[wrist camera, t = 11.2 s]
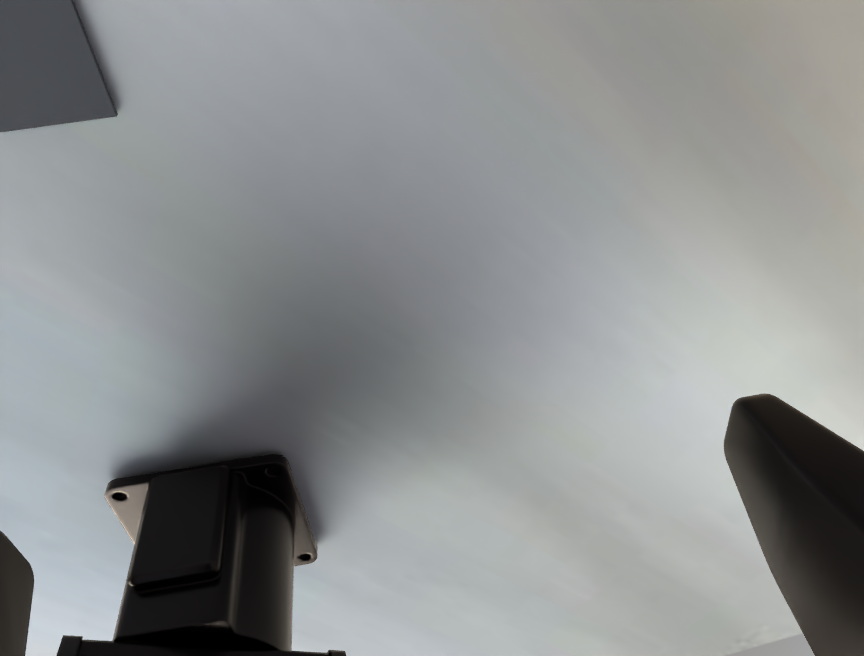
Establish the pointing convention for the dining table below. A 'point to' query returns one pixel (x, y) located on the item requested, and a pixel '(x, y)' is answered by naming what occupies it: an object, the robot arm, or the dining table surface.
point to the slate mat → (47, 67)
